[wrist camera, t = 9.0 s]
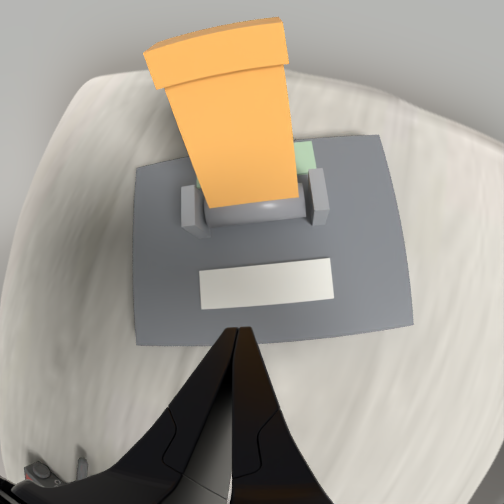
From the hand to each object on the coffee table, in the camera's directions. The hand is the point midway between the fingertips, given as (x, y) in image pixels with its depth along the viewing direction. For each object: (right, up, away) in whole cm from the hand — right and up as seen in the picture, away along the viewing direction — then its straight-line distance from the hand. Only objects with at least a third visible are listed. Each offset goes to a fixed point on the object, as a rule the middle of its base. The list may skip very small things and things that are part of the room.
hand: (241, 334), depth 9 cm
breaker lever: (+1, +5, +9) cm, 10 cm away
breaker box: (+1, +3, +10) cm, 11 cm away
